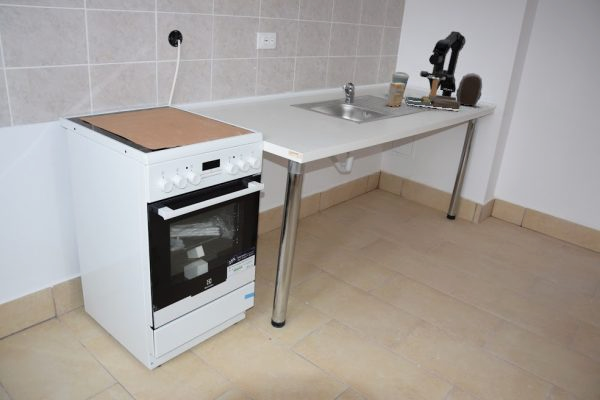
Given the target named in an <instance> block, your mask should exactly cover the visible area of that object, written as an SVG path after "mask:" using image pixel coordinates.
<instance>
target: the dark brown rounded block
mask: <svg viewBox="0 0 600 400" xmlns="http://www.w3.org/2000/svg"><path fill="white" fill-rule="evenodd" d="M482 88H483V79H482V77H481V76H480V75H479V74H476V73H474V72H472V73H467V74H465V75H463V76H462V78H461V79H460V82H459V85H458V88H456V92H455V93H456V94H455V96H456V101H457V102H460V105H461V104H464V105H463V106H466V105H472V106H471V107H474V106H475V107H476V105H477V104H478V101H479V100H480V99H481V96H482Z"/></svg>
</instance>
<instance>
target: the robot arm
mask: <svg viewBox="0 0 600 400" xmlns="http://www.w3.org/2000/svg"><path fill="white" fill-rule="evenodd" d="M465 44H466V38H465V36H464V35H463V34H461V32H459V31H453V30H452V31H451V32H450V33H449V34H448V35H447V36H446V37H445V38H443V39H439V40H438V41H436V43H435V45H434V48H433V49H432V54H431V55H430V57H429V63H430V64H431V65H432V66H433V67H432V72H429V71H426V70H421V71H420V73H419V76H420V77H421V78H426V79H427V80H428V82H429V90H430V91H431V89H432V81H433V78H436V79H438V86H437V91H438V90H439V91H442V92H441V93H442V94H441V96H448V97H452V94H453V93H456V92H457V86H456V78H455V73H456V72H455V71H456V68H457V64H458V59H459V55H460V52H461V51H462V50H463V48H464V46H465ZM450 50H451V52H450ZM449 52H450V58H449V62H448V66H447V69H444V67H445V66H444V65H445V62H446V57H447V54H449ZM439 88H440V89H439Z"/></svg>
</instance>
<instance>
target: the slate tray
mask: <svg viewBox="0 0 600 400" xmlns="http://www.w3.org/2000/svg"><path fill="white" fill-rule="evenodd" d="M421 98H422V97H413V96H405V99H404V100H406V101H407V103H408V104H414V105H425V106H433V105H434V104H429V103H421V102H413V101H421ZM409 100H413V101H409ZM406 101H405V102H406ZM407 103H406V104H407Z"/></svg>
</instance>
